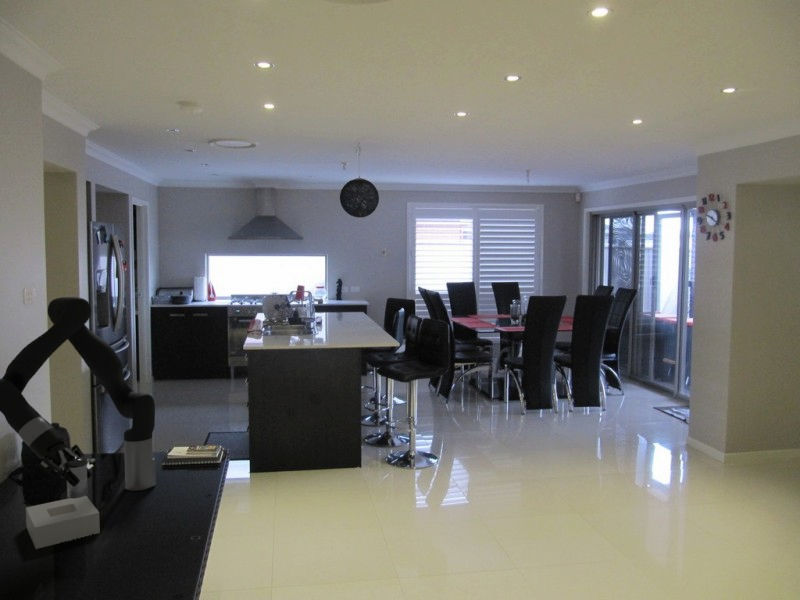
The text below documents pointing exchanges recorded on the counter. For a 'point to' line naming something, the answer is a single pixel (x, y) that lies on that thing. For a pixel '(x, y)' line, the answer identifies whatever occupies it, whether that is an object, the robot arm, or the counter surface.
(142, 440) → the robot arm
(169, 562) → the counter surface
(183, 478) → the counter surface
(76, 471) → the lens
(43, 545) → the grey block with recess
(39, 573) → the counter surface
